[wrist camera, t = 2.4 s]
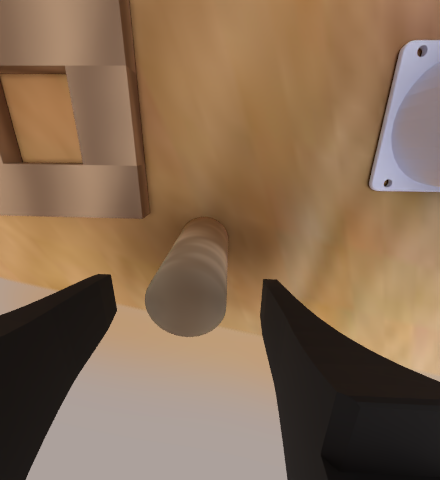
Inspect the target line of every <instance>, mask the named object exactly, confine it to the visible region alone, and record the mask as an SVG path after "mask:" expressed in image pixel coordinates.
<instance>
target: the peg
mask: <svg viewBox="0 0 440 480" xmlns="http://www.w3.org/2000/svg"><path fill="white" fill-rule="evenodd" d="M227 267H228V234H227V231H226V229H225V228H224V226H223V225H222V224H221V223H220V222H218V221H217V220H215V219H212V218H209V217H198V218H195V219H193V220H191V221H189V222H188V223H187V224H186V225H185V227H184V228H183V230H182V232H181V233H180V235H179V236H178V238H177V240H176V241H175V243H174V245H173V246H172V248H171V250H170V251H169V253H168V255H167V256H166V258H165V260H164V261H163V263H162V265H161V266H160V268H159V270H158V271H157V273H156V274H155V276H154V278H153V279H152V281H151V283H150V284H149V286H148V288H147V291H146V294H145V305H146V309H147V312H148V314H149V315H150V317H151V319H152V320H153V321H154V322H155V323H156V324H157V325H158V326H159V327H160V328H162V329H163V330H165V331H167V332H169V333H171V334H174V335H178V336H185V337H194V336H200V335H203V334H206V333H208V332H210V331H212V330H213V329H215V328H216V327H217V326H218V325H219V324H220V323H221V321H222V319H223V317H224V315H225V312H226V298H227Z"/></svg>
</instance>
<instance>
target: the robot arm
mask: <svg viewBox="0 0 440 480" xmlns="http://www.w3.org/2000/svg"><path fill="white" fill-rule="evenodd" d="M419 48H420V49H421V50H422V55H421V57H419V56H418V55H417V51H418V49H419ZM387 179H388V184H387V185H386V186H384V182H385V181H386V180H387ZM369 186H370V188H371V189H372V190H376V191H411V192H440V40H413V41H410V42H409V43H407V44H406V45H404V46H403V47H402V49H401V50H400V53H399V56H398V61H397V65H396V69H395V74H394V78H393V82H392V86H391V91H390V95H389V99H388V104H387V108H386V112H385V117H384V121H383V125H382V129H381V134H380V138H379V142H378V147H377V151H376V155H375V159H374V164H373V168H372V172H371V177H370V181H369ZM116 312H117V308H116V302H115V296H114V290H113V284H112V279H111V275H108V274H97V275H94V276H92V277H89V278H87V279H84V280H82V281H80V282H78V283H76V284H73V285H71V286H69V287H67V288H65V289H63V290H60V291H58V292H56V293H54V294H52V295H49V296H47V297H45V298H43V299H40V300H38V301H35V302H33V303H31V304H29V305H26V306H24V307H21V308H19V309H16V310H13V311H11V312H8V313H5V314H2V315H0V480H26V477H27V475H28V472H29V470H30V468H31V466H32V464H33V462H34V459H35V457H36V455H37V453H38V451H39V449H40V447H41V445H42V442H43V440H44V438H45V436H46V434H47V432H48V430H49V428H50V426H51V424H52V422H53V420H54V418H55V416H56V414H57V412H58V410H59V408H60V406H61V405H62V403H63V401H64V399H65V397H66V395H67V393H68V391H69V390H70V388H71V386H72V384H73V382H74V381H75V379H76V378H77V376H78V374H79V373H80V371H81V370H82V368H83V367H84V365H85V364H86V362H87V361H88V359H89V358H90V356H91V355H92V353H93V352H94V350H95V349H96V347H97V346H98V344H99V343H100V341H101V340H102V338H103V337H104V335H105V333H106V332H107V330H108V328H109V326H110V324H111V322H112V320H113V318H114V316H115V314H116ZM260 319H261V328H262V336H263V340H264V344H265V348H266V352H267V356H268V361H269V365H270V368H271V373H272V377H273V381H274V386H275V391H276V397H277V404H278V411H279V417H280V425H281V432H282V439H283V447H284V455H285V463H286V471H287V479H288V480H440V382H439V381H436V380H434V379H431V378H429V377H427V376H424V375H422V374H420V373H417V372H415V371H413V370H410V369H408V368H405V367H403V366H401V365H399V364H397V363H395V362H393V361H391V360H389V359H387V358H384V357H382V356H380V355H378V354H376V353H375V352H373V351H371V350H369V349H367V348H365V347H363V346H362V345H360V344H358V343H357V342H355V341H353V340H351V339H350V338H348V337H346V336H345V335H343V334H341V333H340V332H338V331H337V330H335V329H334V328H333V327H331V326H330V325H328V324H327V323H325V322H324V321H323V320H321V319H320V318H319V317H317V316H316V315H315V314H314V313H312V312H311V311H310V310H309V309H307V308H306V307H305V306H304V305H303V304H302V303H301V302H299V301H298V300H297V299H296V298H295V297H294V296H293V295H292V294H291V293H290V292H289V291H288V290H287V289H286V288H285V287H284V286H283V285H282V284H281V283H280V282H279V281H278V280H272V279H263V289H262V301H261V312H260Z"/></svg>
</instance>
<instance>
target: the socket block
mask: <svg viewBox="0 0 440 480" xmlns="http://www.w3.org/2000/svg"><path fill="white" fill-rule="evenodd" d="M0 74H66V75H67V80H68V86H69V91H70V96H71V102H72V107H73V112H74V118H75V123H76V129H77V134H78V139H79V145H80V150H81V155H82V161H83V163H23V162H22V159H21V155H20V151H19V148H18V144H17V140H16V137H15V133H14V129H13V126H12V122H11V118H10V115H9V111H8V107H7V104H6V100H5V96H4V93H3V89H2V85H1V82H0V215H9V216H51V217H93V218H135V219H143V218H144V217H145V216H147V215H148V214H149V213H150V211H149V201H148V190H147V180H146V170H145V159H144V149H143V139H142V128H141V118H140V108H139V97H138V87H137V77H136V66H135V56H134V46H133V35H132V25H131V14H130V4H129V0H0Z"/></svg>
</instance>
